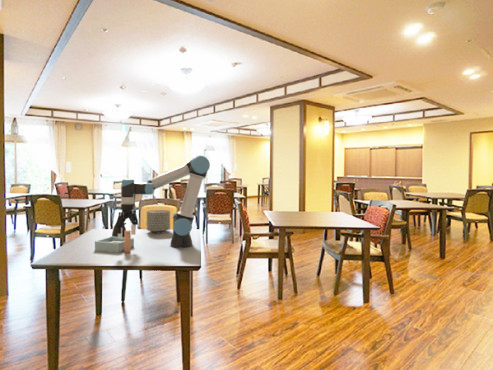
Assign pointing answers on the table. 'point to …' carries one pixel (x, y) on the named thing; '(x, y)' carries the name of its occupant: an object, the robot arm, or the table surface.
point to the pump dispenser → (115, 231)
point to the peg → (128, 241)
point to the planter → (158, 221)
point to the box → (112, 244)
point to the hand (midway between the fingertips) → (126, 236)
